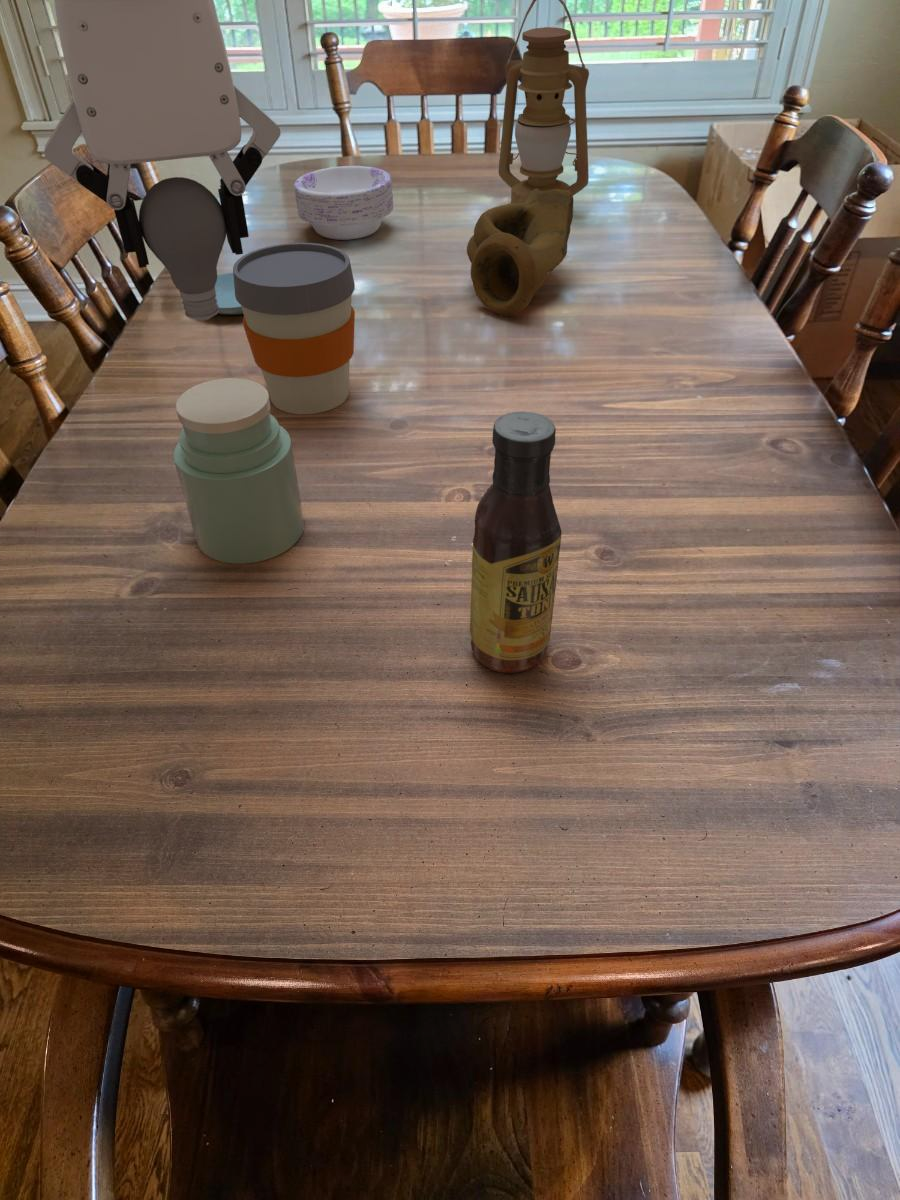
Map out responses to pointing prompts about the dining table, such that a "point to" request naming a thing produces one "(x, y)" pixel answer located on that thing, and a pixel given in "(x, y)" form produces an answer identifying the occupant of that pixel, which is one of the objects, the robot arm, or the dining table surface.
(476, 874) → the dining table surface
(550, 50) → the lantern
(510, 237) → the brown looped sculpture
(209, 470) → the green lidded jar
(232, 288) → the saucer
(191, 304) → the light bulb
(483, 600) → the sauce bottle
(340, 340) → the reusable coffee cup
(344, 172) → the paper bowls
